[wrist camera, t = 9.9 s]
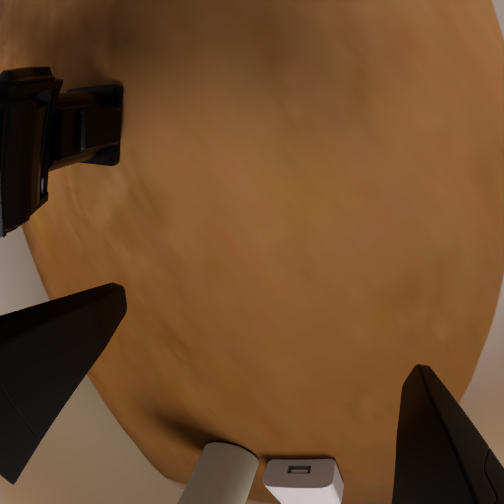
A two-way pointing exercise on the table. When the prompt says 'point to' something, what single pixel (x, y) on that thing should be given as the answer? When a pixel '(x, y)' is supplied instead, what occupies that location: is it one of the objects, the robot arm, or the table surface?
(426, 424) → the robot arm
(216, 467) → the travel mug
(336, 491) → the charger
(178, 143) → the table surface
